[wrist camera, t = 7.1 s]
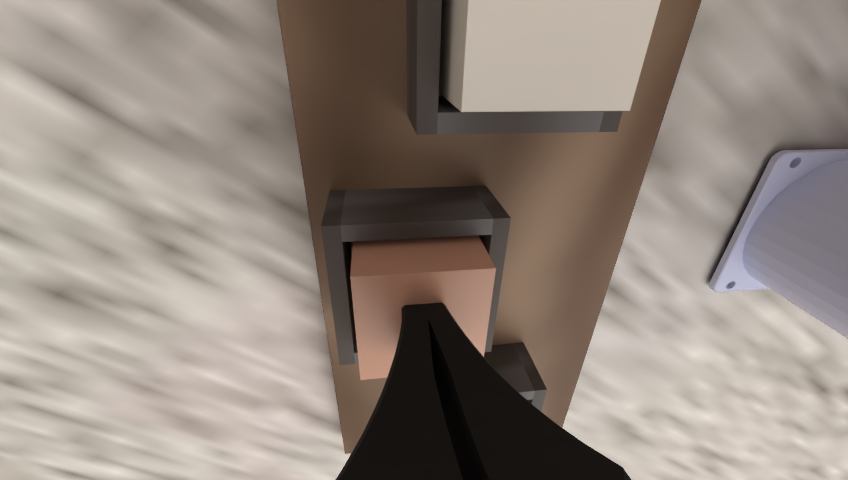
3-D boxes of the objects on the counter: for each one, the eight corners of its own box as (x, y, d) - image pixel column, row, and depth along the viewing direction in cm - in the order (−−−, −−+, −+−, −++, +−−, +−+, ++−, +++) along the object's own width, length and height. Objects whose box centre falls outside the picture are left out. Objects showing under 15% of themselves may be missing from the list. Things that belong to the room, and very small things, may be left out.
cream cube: (599, -78, 10) (695, -124, 7) (566, 91, 12) (629, 110, 9) (443, -87, 10) (477, -140, 7) (437, 91, 12) (461, 112, 9)
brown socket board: (732, -170, 11) (893, -260, 8) (555, 414, 25) (585, 475, 22) (251, -218, 10) (185, -359, 6) (345, 438, 23) (341, 508, 20)
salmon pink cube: (469, 218, 14) (496, 268, 11) (461, 306, 16) (482, 368, 13) (354, 223, 14) (350, 277, 11) (361, 313, 16) (360, 379, 13)
